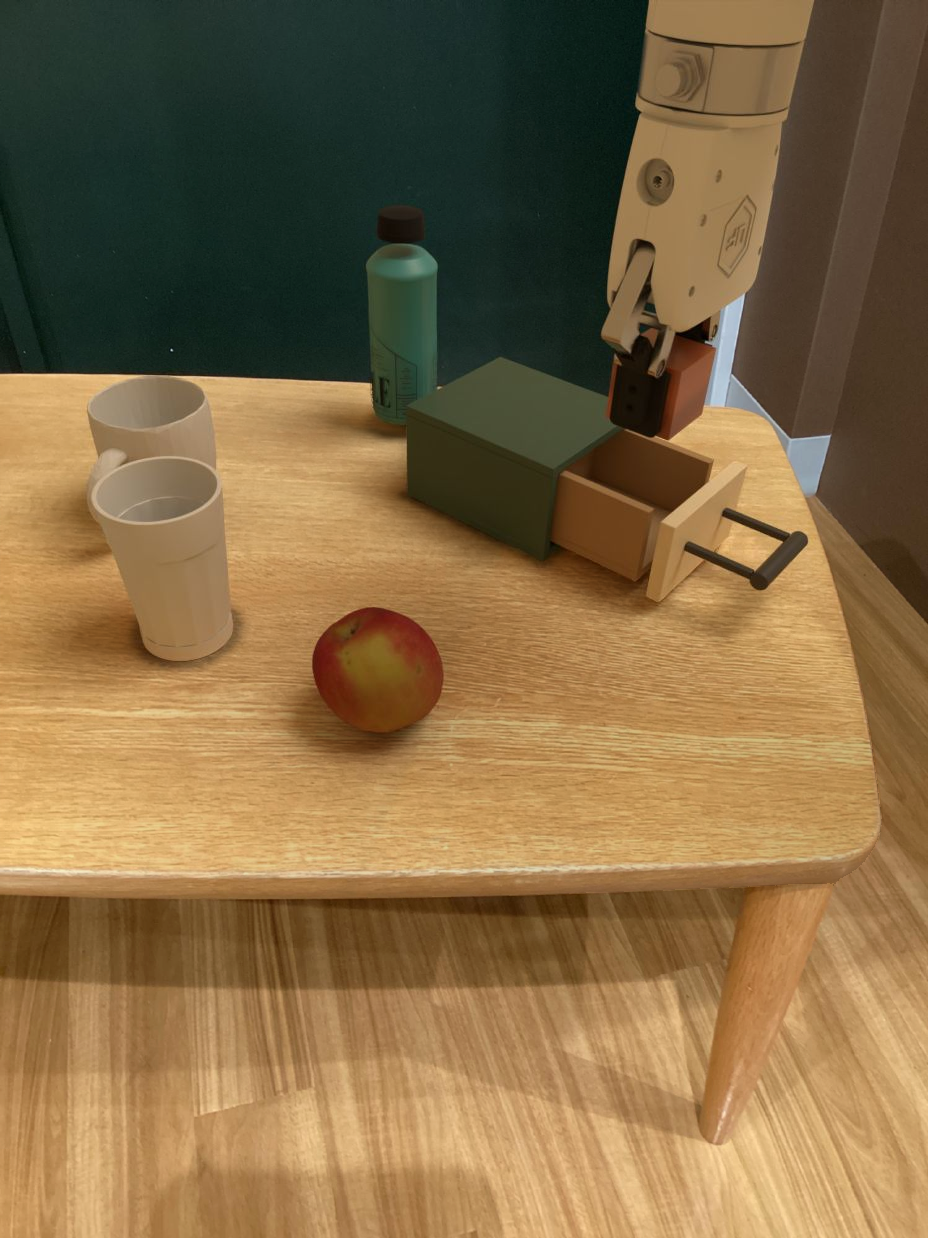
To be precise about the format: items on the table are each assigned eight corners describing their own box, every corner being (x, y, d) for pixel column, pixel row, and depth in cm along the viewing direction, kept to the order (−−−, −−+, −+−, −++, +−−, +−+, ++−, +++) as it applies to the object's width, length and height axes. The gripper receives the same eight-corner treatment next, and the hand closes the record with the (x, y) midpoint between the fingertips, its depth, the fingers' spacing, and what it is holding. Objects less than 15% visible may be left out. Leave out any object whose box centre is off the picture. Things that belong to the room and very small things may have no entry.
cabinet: (625, 497, 81) (641, 409, 76) (542, 562, 74) (552, 468, 68) (495, 441, 88) (500, 356, 82) (406, 495, 80) (405, 405, 75)
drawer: (806, 570, 72) (831, 496, 68) (740, 642, 66) (763, 566, 61) (591, 477, 82) (601, 408, 77) (514, 533, 75) (520, 460, 71)
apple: (388, 657, 65) (385, 566, 59) (464, 722, 60) (468, 629, 55) (296, 707, 61) (285, 614, 56) (371, 781, 56) (366, 687, 51)
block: (702, 414, 58) (716, 347, 55) (668, 441, 55) (681, 372, 52) (640, 392, 60) (651, 327, 57) (605, 417, 57) (614, 349, 54)
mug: (156, 471, 82) (133, 366, 75) (244, 493, 80) (229, 386, 73) (61, 550, 73) (26, 438, 66) (159, 577, 71) (132, 463, 64)
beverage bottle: (450, 419, 91) (455, 206, 78) (412, 447, 87) (411, 227, 74) (396, 401, 94) (392, 192, 81) (356, 427, 89) (346, 211, 76)
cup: (263, 607, 68) (243, 467, 60) (212, 679, 62) (183, 534, 55) (166, 587, 70) (134, 447, 62) (108, 655, 64) (64, 510, 56)
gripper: (706, 118, 38) (639, 491, 50) (852, 66, 49) (768, 385, 61) (557, 90, 42) (527, 445, 54) (723, 46, 52) (667, 352, 64)
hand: (655, 410), depth 57 cm, fingers closed on block, 4 cm apart
